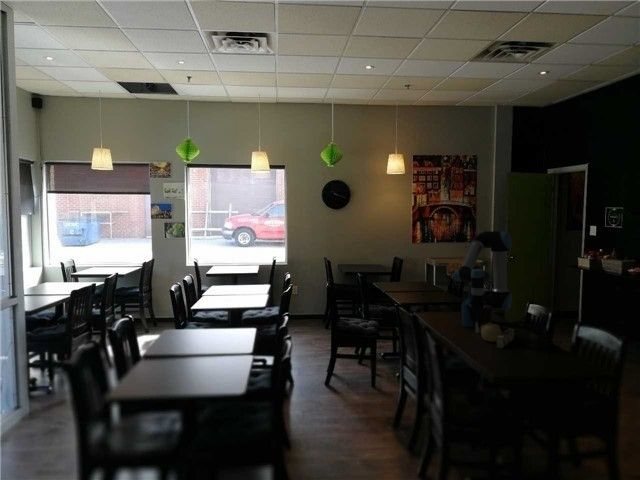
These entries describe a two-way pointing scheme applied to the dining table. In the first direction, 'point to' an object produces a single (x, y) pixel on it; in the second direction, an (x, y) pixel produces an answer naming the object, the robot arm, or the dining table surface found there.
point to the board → (505, 338)
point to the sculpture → (490, 332)
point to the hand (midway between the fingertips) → (477, 332)
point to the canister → (487, 316)
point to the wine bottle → (467, 311)
